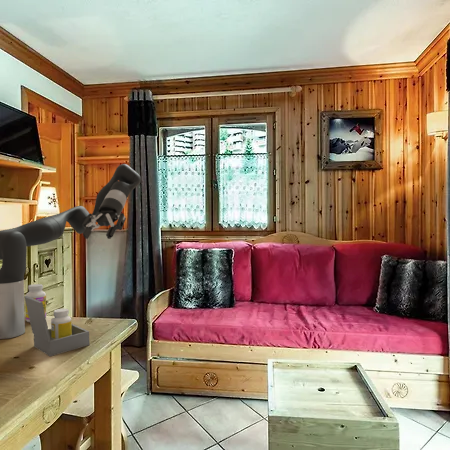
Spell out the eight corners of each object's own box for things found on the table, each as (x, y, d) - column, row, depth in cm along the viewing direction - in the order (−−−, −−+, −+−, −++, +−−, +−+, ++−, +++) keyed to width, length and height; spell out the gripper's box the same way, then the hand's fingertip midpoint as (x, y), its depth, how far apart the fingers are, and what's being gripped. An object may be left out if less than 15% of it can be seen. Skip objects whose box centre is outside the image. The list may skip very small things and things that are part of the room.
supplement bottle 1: (35, 323, 124) (34, 287, 124) (21, 322, 126) (20, 286, 126) (50, 318, 130) (49, 284, 130) (36, 316, 132) (36, 283, 132)
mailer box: (25, 348, 100) (24, 296, 100) (72, 336, 110) (71, 288, 110) (41, 359, 93) (39, 302, 92) (89, 344, 103) (88, 293, 103)
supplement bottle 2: (75, 340, 105) (74, 307, 105) (65, 347, 100) (64, 312, 99) (58, 339, 106) (57, 307, 105) (47, 346, 100) (46, 312, 100)
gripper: (134, 211, 131) (119, 244, 120) (100, 212, 134) (82, 244, 123) (127, 196, 126) (111, 229, 115) (91, 197, 129) (72, 229, 118)
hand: (96, 237), depth 119 cm, fingers open, 8 cm apart
